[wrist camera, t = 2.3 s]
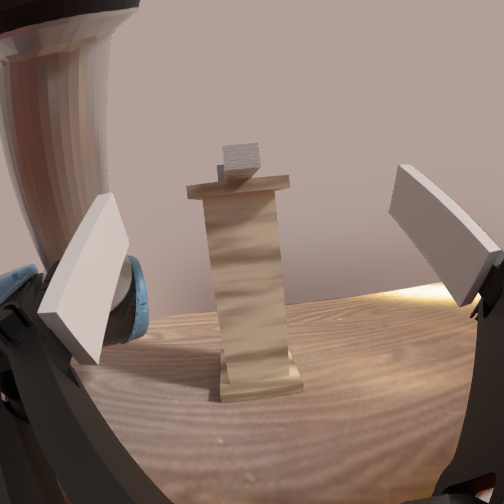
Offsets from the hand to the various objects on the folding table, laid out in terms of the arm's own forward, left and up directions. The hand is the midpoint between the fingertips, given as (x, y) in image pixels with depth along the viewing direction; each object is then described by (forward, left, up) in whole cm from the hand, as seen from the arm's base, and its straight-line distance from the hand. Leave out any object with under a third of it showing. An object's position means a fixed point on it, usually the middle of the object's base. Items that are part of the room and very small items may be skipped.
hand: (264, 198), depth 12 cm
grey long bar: (-8, +21, +3) cm, 23 cm away
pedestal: (-10, +27, -27) cm, 40 cm away
